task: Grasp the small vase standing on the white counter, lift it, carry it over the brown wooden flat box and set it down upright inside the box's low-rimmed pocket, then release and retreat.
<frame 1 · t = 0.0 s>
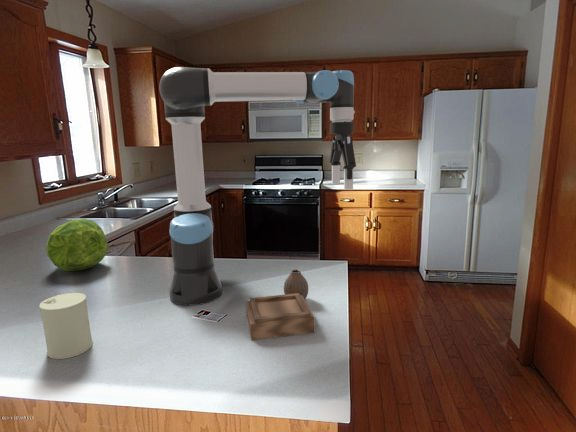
hand: (341, 186, 134), 28 cm above the countertop, fingers open, 13 cm apart
can: (70, 348, 91), on the countertop
vase: (296, 301, 113), on the countertop
lettuce: (77, 268, 146), on the countertop
brown wooden flat box: (278, 323, 100), on the countertop
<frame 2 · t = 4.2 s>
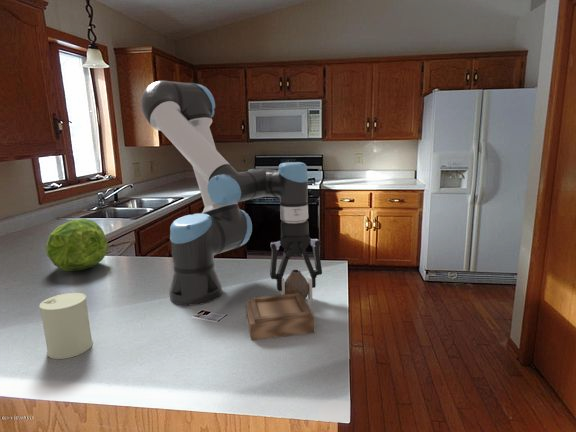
hand: (296, 299, 113), 0 cm above the countertop, fingers open, 7 cm apart
vase: (296, 301, 113), on the countertop, touching gripper
everything else where it was.
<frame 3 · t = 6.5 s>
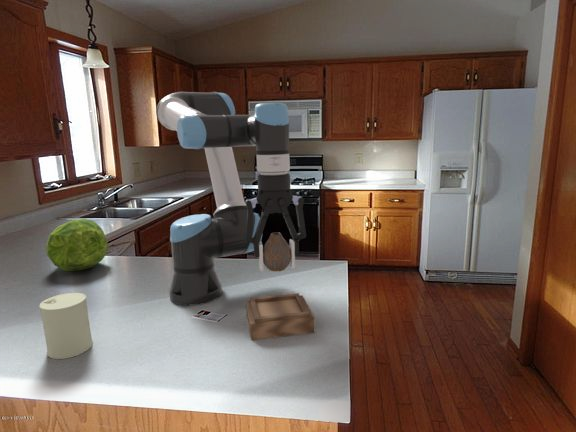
hand: (277, 267, 97), 15 cm above the countertop, fingers closed on vase, 7 cm apart
vase: (277, 269, 97), point 14 cm above the countertop, touching gripper
everything else where it was.
when the fingers open (6 cm above the countertop, at t = 8.3 s): vase drops 2 cm, resting on brown wooden flat box.
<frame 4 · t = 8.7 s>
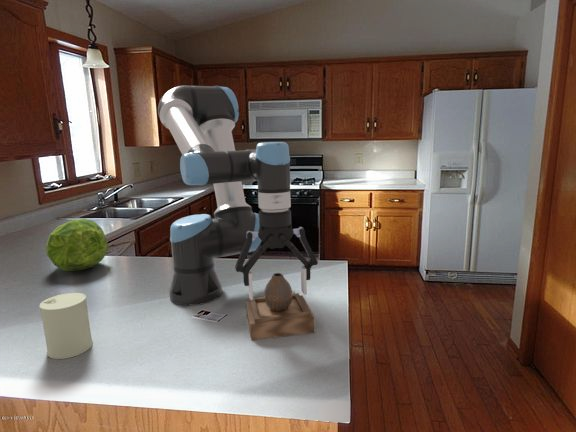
hand: (277, 295, 98), 8 cm above the countertop, fingers open, 12 cm apart
vase: (278, 308, 99), point 4 cm above the countertop, touching brown wooden flat box
everything else where it was.
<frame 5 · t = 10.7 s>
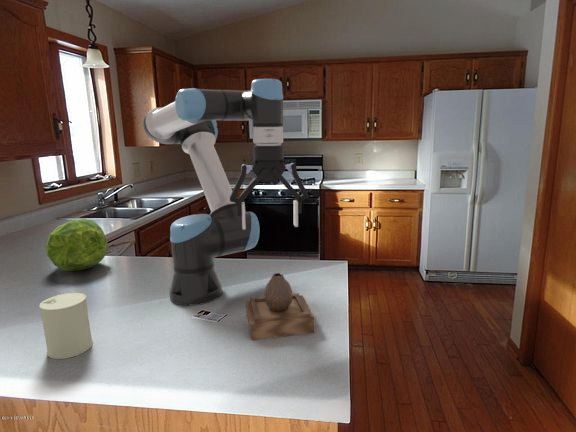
hand: (270, 227, 105), 22 cm above the countertop, fingers open, 13 cm apart
nothing on the countertop moved.
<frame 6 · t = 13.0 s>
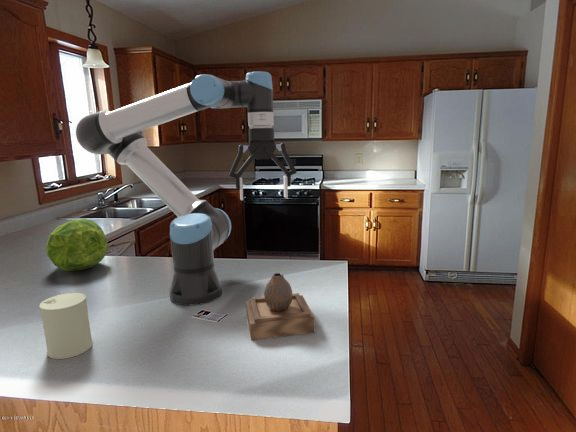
hand: (264, 198, 123), 27 cm above the countertop, fingers open, 13 cm apart
nothing on the countertop moved.
at the end: vase inside the target area on the brown wooden flat box (0.2 cm from its centre), point 3.8 cm above the brown wooden flat box's base; vase tilted 0°; the gripper is holding nothing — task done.
